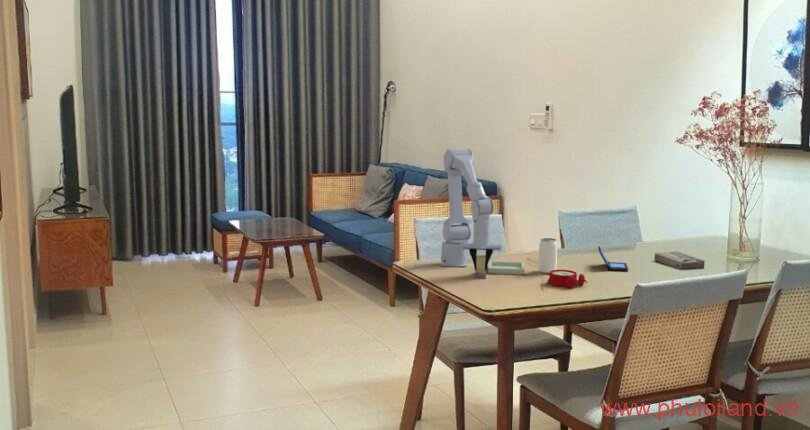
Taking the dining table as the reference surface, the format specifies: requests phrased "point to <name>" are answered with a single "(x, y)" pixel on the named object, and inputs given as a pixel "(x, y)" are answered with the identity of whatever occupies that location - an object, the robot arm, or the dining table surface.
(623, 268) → the handheld game console
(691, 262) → the box
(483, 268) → the carton
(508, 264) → the tray
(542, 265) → the can
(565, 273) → the alarm clock
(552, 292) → the dining table surface
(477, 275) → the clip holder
